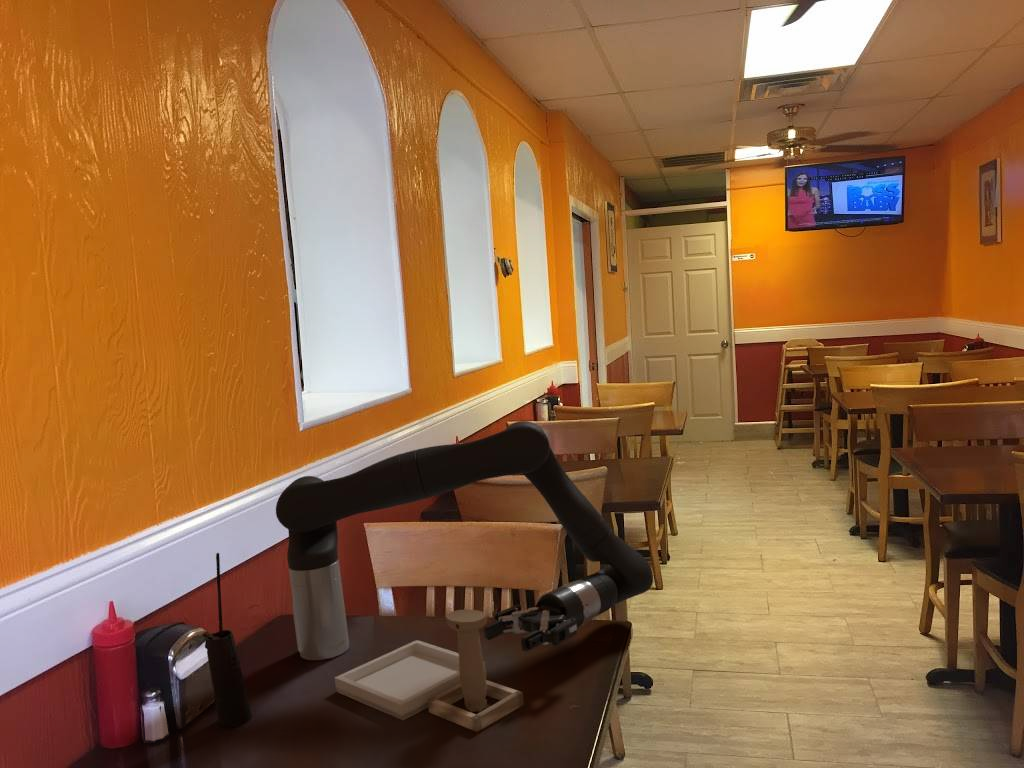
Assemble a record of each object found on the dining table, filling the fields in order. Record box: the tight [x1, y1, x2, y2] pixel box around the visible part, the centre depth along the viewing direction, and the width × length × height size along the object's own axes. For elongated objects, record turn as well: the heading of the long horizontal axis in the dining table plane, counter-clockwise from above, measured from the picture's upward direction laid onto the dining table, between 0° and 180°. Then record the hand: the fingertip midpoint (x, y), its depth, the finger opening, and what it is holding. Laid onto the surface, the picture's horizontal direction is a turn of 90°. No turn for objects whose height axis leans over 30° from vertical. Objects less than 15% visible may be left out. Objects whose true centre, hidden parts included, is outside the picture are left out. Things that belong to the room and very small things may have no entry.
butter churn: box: [202, 552, 253, 729], centre depth 138 cm, size 9×10×28 cm
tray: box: [334, 639, 487, 721], centre depth 146 cm, size 18×18×2 cm
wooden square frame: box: [427, 679, 525, 733], centre depth 134 cm, size 11×10×2 cm
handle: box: [445, 609, 488, 713], centre depth 134 cm, size 5×6×15 cm
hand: (504, 639), depth 139 cm, fingers open, 8 cm apart
